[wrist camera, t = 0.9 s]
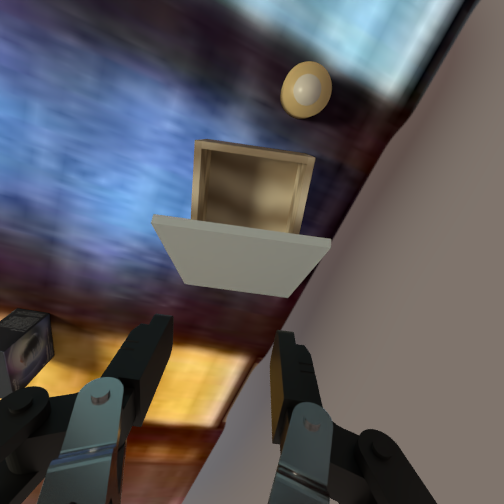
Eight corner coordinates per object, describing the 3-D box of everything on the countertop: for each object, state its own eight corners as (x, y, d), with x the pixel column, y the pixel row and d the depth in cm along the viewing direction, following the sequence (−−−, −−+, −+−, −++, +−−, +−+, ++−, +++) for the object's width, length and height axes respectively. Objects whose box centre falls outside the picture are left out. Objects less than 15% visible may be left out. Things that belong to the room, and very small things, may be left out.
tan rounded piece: (284, 67, 36) (287, 57, 31) (327, 74, 36) (337, 65, 31) (277, 115, 38) (279, 113, 33) (317, 121, 38) (325, 120, 34)
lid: (153, 214, 22) (151, 223, 22) (331, 239, 23) (331, 247, 22) (186, 278, 39) (184, 283, 39) (288, 292, 39) (287, 297, 39)
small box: (57, 356, 56) (14, 402, 46) (24, 351, 56) (-26, 396, 46) (51, 312, 52) (3, 353, 42) (16, 307, 52) (-41, 346, 42)
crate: (207, 139, 40) (194, 139, 32) (305, 153, 40) (315, 157, 32) (199, 255, 46) (187, 277, 39) (282, 266, 47) (286, 291, 39)
